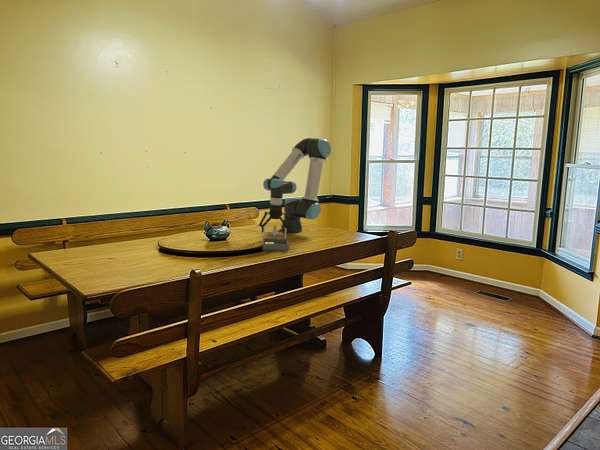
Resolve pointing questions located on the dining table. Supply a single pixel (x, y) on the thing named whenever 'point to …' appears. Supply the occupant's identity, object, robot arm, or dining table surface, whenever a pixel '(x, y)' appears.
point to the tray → (276, 244)
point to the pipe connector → (274, 232)
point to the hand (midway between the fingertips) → (274, 237)
